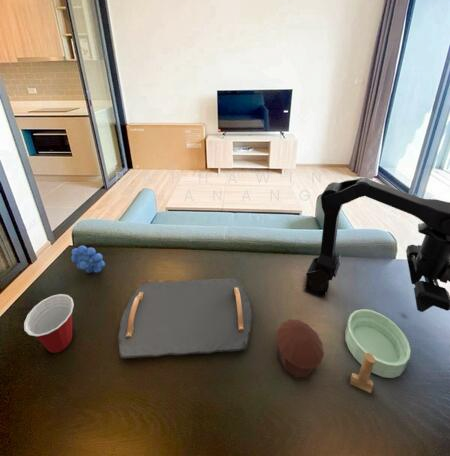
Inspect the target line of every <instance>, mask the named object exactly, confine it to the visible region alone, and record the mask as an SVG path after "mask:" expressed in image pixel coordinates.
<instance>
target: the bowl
mask: <svg viewBox="0 0 450 456" xmlns="http://www.w3.org/2000/svg"><path fill="white" fill-rule="evenodd" d="M344 340H345V343H346V346H347V349H348V350H349V351H350V354H351V355H352V357H353V358H354V359H355V360H356V362H358V363H359V364H360V366H362V362H363V359H364V356H365V354H366V353H370V354H372V355H373V356H374V358H375V363H374V365H373V368H372V371H371V373H372V374H374V375H377V376H378V377H382V378H388V379H395V378H397V377H400V376H401V375H402V374H403V372H404V371H405V369H406V368H407V365H408V364H409V363H408V362H409V360H410V358H411V345H410V343H409V340H408V338H407V336H406V335H405V333H404V332H403V330H401V328H400V327H399V326H398V325H397V324H396V323H395V322H394V321H392V320H391V319H390V318H389V317H387V316H386V315H384V314H382V313H380V312H378V311H374V310H372V309H365V308H364V309H363V308H361V309H358V310H354V311H353V312H352V313H350V315H349V318H348V320H347V323H346V328H345V331H344Z"/></svg>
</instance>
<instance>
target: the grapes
mask: <svg viewBox="0 0 450 456" xmlns="http://www.w3.org/2000/svg"><path fill="white" fill-rule="evenodd" d="M103 259H104V257H103V255H102V253H100V252H99V253H98V252H97V253H96V249H95V248H94V247H87V246H86V245H79V246H77V247H76V248H72V250H71V257H70V260H71V262H72V263H75V264H76V268H77V269H79V270H83V271H85V272H86V273H87V274H91V273H93V272H94V273H96V274H98V273H100V272H102V269H103V268H105V267H106V263H105V261H104V260H103Z"/></svg>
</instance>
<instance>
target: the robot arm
mask: <svg viewBox="0 0 450 456" xmlns="http://www.w3.org/2000/svg"><path fill="white" fill-rule="evenodd" d="M363 197H366V198H368V199H371V200H373V201H376V202H379V203H380V204H383V205H387V206H388V207H392V208H394V209H395V210H396V209H397V210H398V211H402V212H403V213H407V214H409V215H411V216H414V217H415V218H417V219H419V220H420V221H421V223H418V224H417V232H418V233H419V234H422V235H424V238H423V240H422V242H421V244H417V245H415V244H413V243H412V244H410V245H407V247H406V250H405V253H406V260H407V265H408V271H409V277H410V282H411V284H412V285H414V287H413V293H414V298H415V304H416V305H415V306H416V310H417V311H418V312H420V313H424V312H425V311H427V310H429V309H430V308H433V307H436V308H439V309H441V310H444V311H450V292H449V291H448V290H447V289H446V288H445V287H443V286H440V283H439V282H441V283H444V284H447V283H448V282H449V283H450V201H445V200H441V199H432V198H423V197H419V196H416V195H413V194H411V193H408V192H406V191H403V190H400V189H397V188H395V187H391V186H389V185H386V184H383V183H381V182H378V181H375V180H373V179H370V178H369V177H367V176H362V177H359V178H356V179H348V180H344V181H341V182H338V181H337V182H335V181H333V182H331V183H329V184H328V185H327V186H326V187H325V189H324V190H323V192H322V194H320V203H321V209H322V212H323V224H322V225H323V226H322V235H321V245H320V252H319V255H318V256H317V257H313V259H312V262H311V263H310V265H309V266H308V269H307V271H306V273H305V275H306V280H305V286H304V291H305V293H308V294H311V295H314V296H317V297H320V298H323V299H325V298H326V294H328V292H329V291H328V290H329V287H330V281H332V280H333V278H337V277H336V276H337V273H338V270H339V268H340V266H341V263H340V259H341V254H338V253H337V252H336V244H337V238H338V237H337V236H338V229H339V220H340V213H341V211H342V208H343V205H345V204H348V203H350V202H353V201H356V200H357V199H359V198H363ZM422 278H424V280H421V279H422ZM438 280H439V282H438Z"/></svg>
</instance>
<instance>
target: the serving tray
mask: <svg viewBox="0 0 450 456" xmlns="http://www.w3.org/2000/svg"><path fill="white" fill-rule="evenodd" d="M252 320H253V311H252V307H251V301H250V300H249V297H248V294H247V292H246V290H245V289H244V287H243V286H242V284H241V282H240V281H239V280H238V279H237V278H233V277H232V278H214V279H213V278H211V279H210V278H209V279H192V280H191V279H190V280H175V281H173V280H172V281H171V280H170V281H153V282H144V283H142V284H141V285H140V286H138V288H137V289H136V290H135V291H134V293H133V294H132V295H131V297H130V299H129V300H128V302H127V305H126V307H125V308H124V311H123V313H122V315H121V318H120V322H119V330H118V334H117V342H118V344H117V346H118V353H119V357H120V358H121V359H138V358H159V357H161V358H162V357H165V356H166V357H167V356H189V355H197V354H200V355H204V354H205V355H210V354H214V353H217V352H218V353H223V352H225V353H226V352H227V353H228V352H242V351H245V350H247V348H248V346H249V343H250V337H251V335H252V334H251V333H252V329H253V328H252V327H253V322H252Z"/></svg>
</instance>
